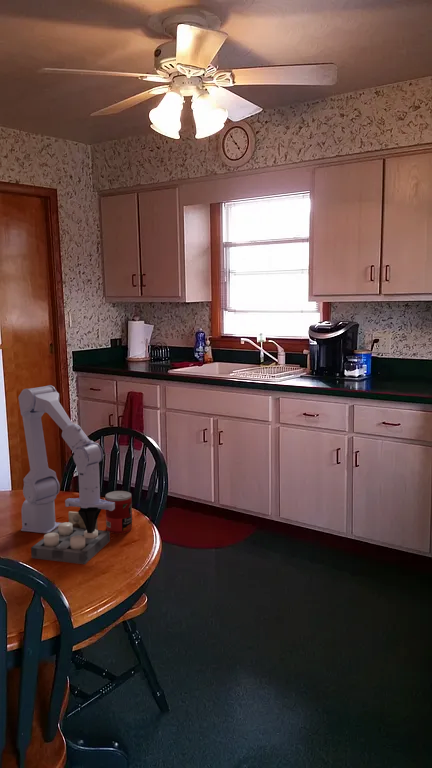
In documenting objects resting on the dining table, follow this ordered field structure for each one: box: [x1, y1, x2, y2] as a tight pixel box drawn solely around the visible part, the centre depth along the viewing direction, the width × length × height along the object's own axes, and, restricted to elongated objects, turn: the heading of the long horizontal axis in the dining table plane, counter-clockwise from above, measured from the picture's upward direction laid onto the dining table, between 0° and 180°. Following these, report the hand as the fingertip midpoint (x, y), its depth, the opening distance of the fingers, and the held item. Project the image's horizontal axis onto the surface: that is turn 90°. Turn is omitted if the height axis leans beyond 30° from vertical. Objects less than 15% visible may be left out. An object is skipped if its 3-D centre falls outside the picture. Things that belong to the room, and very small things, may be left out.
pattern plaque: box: [68, 510, 99, 530], centre depth 184 cm, size 9×1×6 cm, turn 75°
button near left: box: [43, 532, 59, 547], centre depth 170 cm, size 4×4×3 cm
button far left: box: [57, 521, 73, 536], centre depth 178 cm, size 4×4×3 cm
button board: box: [30, 527, 111, 565], centre depth 173 cm, size 16×16×3 cm
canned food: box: [104, 490, 133, 535], centre depth 187 cm, size 8×8×11 cm
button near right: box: [70, 535, 85, 550], centre depth 168 cm, size 4×4×3 cm
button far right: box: [84, 529, 99, 539], centre depth 176 cm, size 4×4×3 cm
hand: (90, 532), depth 175 cm, fingers closed, pressing on button far right
